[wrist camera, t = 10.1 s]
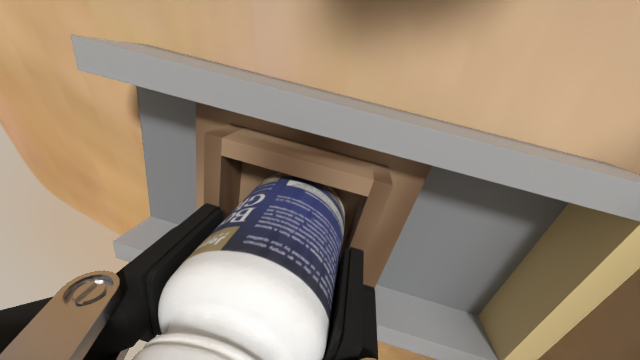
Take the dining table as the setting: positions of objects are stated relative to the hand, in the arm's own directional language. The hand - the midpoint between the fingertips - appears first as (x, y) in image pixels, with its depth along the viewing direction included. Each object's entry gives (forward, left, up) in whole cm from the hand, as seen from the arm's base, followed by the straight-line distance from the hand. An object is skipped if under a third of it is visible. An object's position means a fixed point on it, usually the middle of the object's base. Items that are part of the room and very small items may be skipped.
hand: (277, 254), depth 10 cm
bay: (-2, 0, -6) cm, 6 cm away
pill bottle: (0, 0, -4) cm, 4 cm away
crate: (0, 0, -5) cm, 5 cm away
